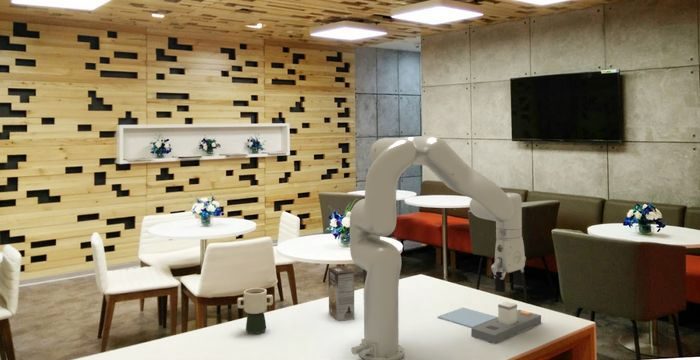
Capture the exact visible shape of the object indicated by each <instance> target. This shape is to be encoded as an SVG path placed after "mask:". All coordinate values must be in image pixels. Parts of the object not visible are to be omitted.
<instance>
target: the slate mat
mask: <svg viewBox="0 0 700 360" xmlns="http://www.w3.org/2000/svg"><path fill="white" fill-rule="evenodd" d="M437 318H438V319H441V320H444V321H446V322H450V323H454V324H457V325H460V326H463V327H466V328H470V329H471V328H474V327H476V326H479V325H481V324H484V323H486V322H489V321H491V320H494V319H496V318H498V316H496V315H492V314H488V313H485V312H481V311H477V310H474V309H470V308H466V307H460V308H457V309H455V310H453V311H449V312H446V313H444V314H440V315H437Z"/></svg>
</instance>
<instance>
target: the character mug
mask: <svg viewBox="0 0 700 360" xmlns="http://www.w3.org/2000/svg"><path fill="white" fill-rule="evenodd" d="M267 293H268V291H267V289H266V288H263V287H250V288H247V289H245V290H244V291H243V296H242V297H238V298H237V300H236V301H237V308H238V309H243V310H244V312H245V313H246V314H247V316H246V324H245V331H246V332H248V333H251V334H260V333H263V332H265V331H266V330H267V323H266V322H267V321H266V318H265V317H266V316H265V312H267V308H268V306H272V305H273V304H274V296H273V294H267ZM268 299H269V302H268ZM241 302H243V304H242V303H241Z"/></svg>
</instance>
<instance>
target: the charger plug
mask: <svg viewBox="0 0 700 360" xmlns="http://www.w3.org/2000/svg"><path fill="white" fill-rule="evenodd" d="M517 310H518V304H517V303H512V302H509V301H504V302H501V303H498V304H497V311H498V313H497V315H498V316H497V317H498V322H499V323H503V324H507V325H512V324H515V323H517Z"/></svg>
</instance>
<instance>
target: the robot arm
mask: <svg viewBox="0 0 700 360" xmlns="http://www.w3.org/2000/svg"><path fill="white" fill-rule="evenodd" d="M369 152H370V153H369V155H370V159H371V161H372V163H371V165H370V167H369V169H368V172H367V175H366V177H365V185H364V187H365V188H364V198H362V199H360V200H358V201H357V202H356V203H355V204H354V205H353V207H352V209H351V210H350V215H349V252H350V256H351V260H352V262H353V263H354V264H355V265H356V266H357V267H359V268H361V269H362V270H364V271H366V277H365V281H364V283H363V284H364V286H363V336H364V337H363V338H361V343H360V344H359V345H357V346H353V347H352V348H351V349H350V350H351V354H352V355H354V356H355V355H359V357H361V359H364V360H400V359H402V358H403V357H404V356H405V349H404V347H403V346H402V345H400V344H399V342H400V340H399V337H400V335H399V332H400V331H399V327H400V326H399V322H400V321H399V285H400V284H399V283H400V275H401V270H402V255H401V252H400V251H399V250H398V248H397V246H395V245H394V244H393V243H391V242H389V241H386V240H383V239H381V237H387V236H389V235H391V234H393V232H394V231H395V230H396V227H397V188H398V182H399V179H400V177H401V176H402V174H403V173H404V172H405V171H406V170H407V169H408V168H409V167H410V166H417V165H418V166H419V165H420V166H426V168H428V169H429V170H430V171H431V172H432V173H433V174H434V175H435V176H437V178H438V179H439V180H440V181H441V182H442V184H444V185H445V186H446V187H447V188H449V189H450V190H452V191H454V192H456V193H457V194H460V195H462V196H466V197H468V198H470V201H469V206H468V207H469V210H470V212H471V214H472V215H474V216H475V217H477V218H479V219H483V220H486V221H487V220H488V221H493V222H495V227H496V229H495V233H496V234H495V238H496V240H495V249H494V250H495V251H494V263H493V264H492V265H491V267H490V269H491V271H492V275H493V278H494V290H495V291H496V292H499V293H502V294H503V293H505V292H506V279H505V276H506V274H511V273H512V284H513V285H515V286H516V285H517V286H523V285H524V277H523V276H524V272H525V269H524V268H525V266H526V261H527V257H526V256H525V255H526V254H525V244H524V240H523V239H524V238H523V232H522V231H523V229H522V226H523V223H522V222H523V221H522V219H523V218H522V217H523V216H522V215H523V214H522V213H523V212H522V211H523V210H522V207H523V206H522V205H523V202H522V201H523V200H522V196H521V194H519V193H517V192H505V191H504V190H503V189H502V188H501V187H500V186H499V185H498V184H496V183H495V182H494V181H493V180H491V179H489V178H488V177H486V176H485V175H483V174H481V173H480V172H478V170H475V169H474V168H473V167H470V165H468V163H466V161H464V159H463V158H461V156H460V155H459V154H458V153H456V151H455V150H453V149H452V147H451V146H450V145H449V144H448V143H447V142H446V141H445V140H443V139H442V138H440V137H439V136H436V135H426V136H425V135H420V136H419V135H418V136H417V135H416V136H409V137H408V136H407V137H406V136H405V137H384V138H379V139H377V140H376V141H374V143H373V144H372V145H371V147H370V151H369Z"/></svg>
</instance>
